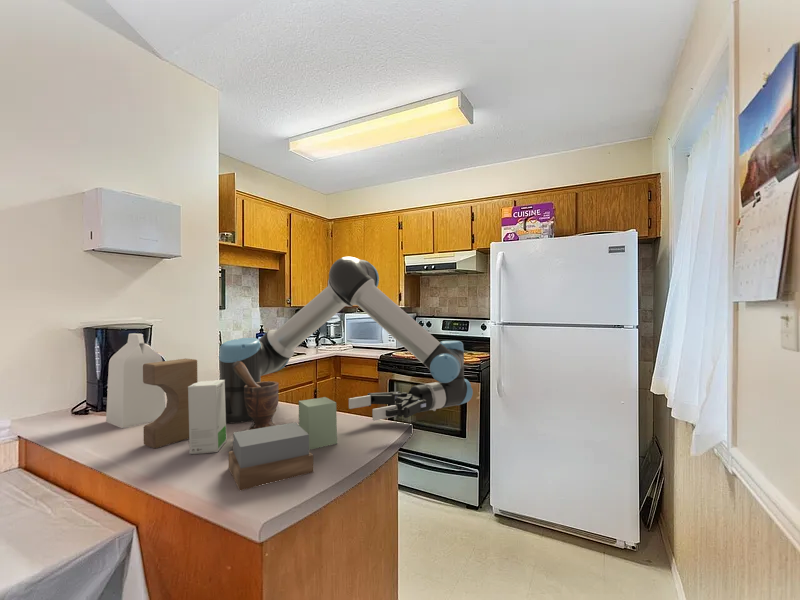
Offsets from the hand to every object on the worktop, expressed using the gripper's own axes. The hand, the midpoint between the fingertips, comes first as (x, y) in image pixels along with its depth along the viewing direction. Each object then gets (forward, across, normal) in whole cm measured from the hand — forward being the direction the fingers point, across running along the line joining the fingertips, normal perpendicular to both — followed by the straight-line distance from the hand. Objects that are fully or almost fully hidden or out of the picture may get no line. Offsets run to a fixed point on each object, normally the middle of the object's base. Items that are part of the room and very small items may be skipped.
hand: (360, 409), depth 103 cm
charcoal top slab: (+26, -10, -3) cm, 27 cm away
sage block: (+12, 0, -6) cm, 13 cm away
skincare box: (+35, +12, -7) cm, 37 cm away
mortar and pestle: (+23, +14, -7) cm, 28 cm away
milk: (+50, +51, -7) cm, 72 cm away
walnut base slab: (+26, -10, -7) cm, 28 cm away
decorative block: (+42, +23, -7) cm, 48 cm away
